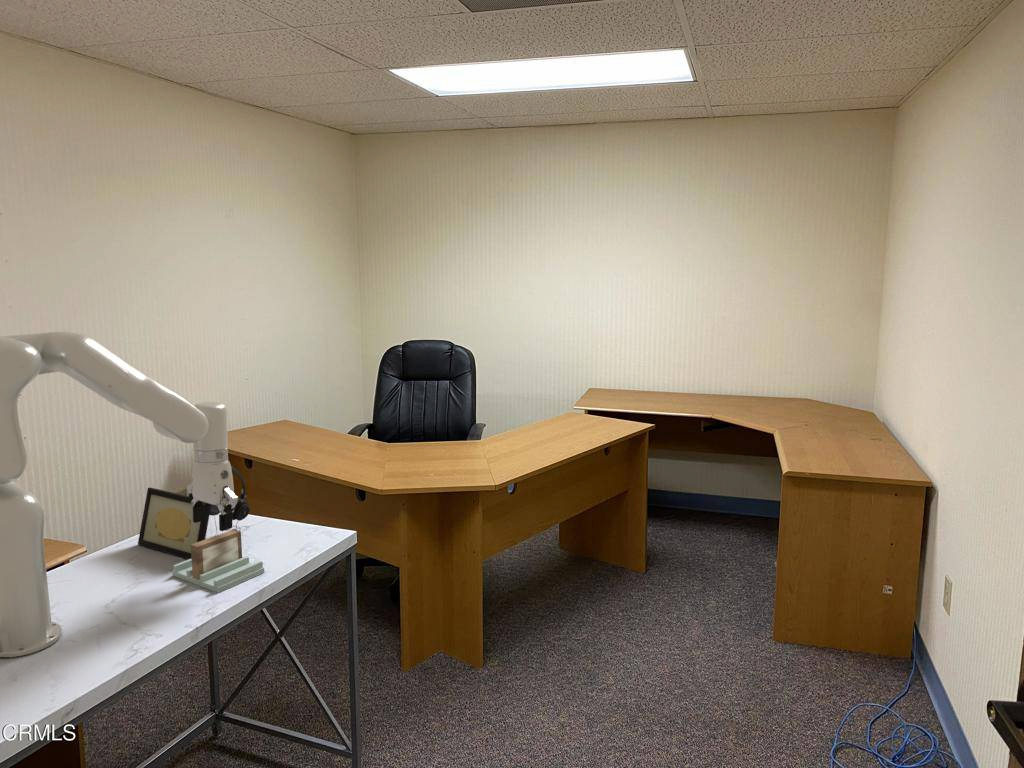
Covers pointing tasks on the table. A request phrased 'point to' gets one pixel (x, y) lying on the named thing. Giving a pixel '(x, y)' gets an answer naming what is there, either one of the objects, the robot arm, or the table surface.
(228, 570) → the display rail
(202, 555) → the long brown rectangular block
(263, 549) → the table surface
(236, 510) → the headphones
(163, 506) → the picture frame
